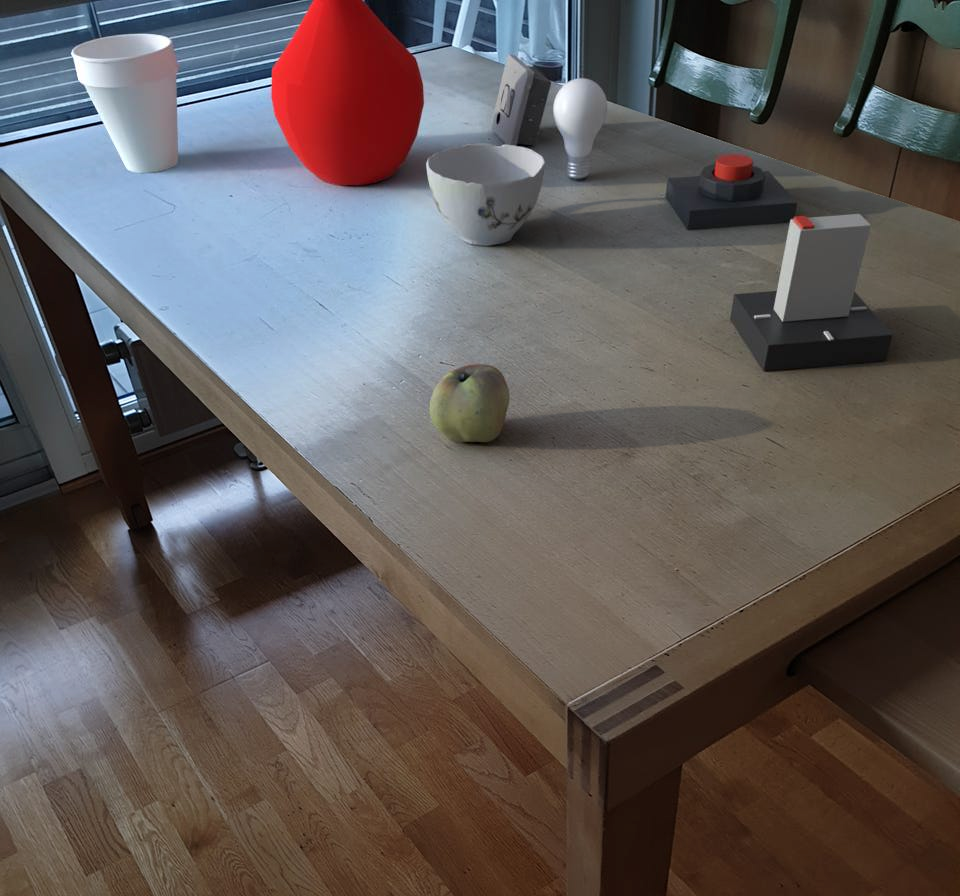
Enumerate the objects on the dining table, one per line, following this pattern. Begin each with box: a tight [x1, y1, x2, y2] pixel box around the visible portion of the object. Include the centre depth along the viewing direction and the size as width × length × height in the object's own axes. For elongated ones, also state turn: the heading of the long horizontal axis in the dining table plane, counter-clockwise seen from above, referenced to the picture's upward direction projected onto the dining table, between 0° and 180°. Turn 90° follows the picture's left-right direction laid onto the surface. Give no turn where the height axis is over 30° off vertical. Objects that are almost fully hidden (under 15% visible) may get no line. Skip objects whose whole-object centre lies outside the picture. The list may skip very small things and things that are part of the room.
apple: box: [428, 363, 511, 443], centre depth 76 cm, size 6×8×6 cm
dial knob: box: [774, 213, 872, 322], centre depth 83 cm, size 6×2×8 cm, turn 96°
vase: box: [270, 0, 425, 186], centre depth 112 cm, size 18×18×30 cm
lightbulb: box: [552, 77, 608, 181], centre depth 114 cm, size 6×6×11 cm
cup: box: [70, 33, 180, 174], centre depth 123 cm, size 12×12×14 cm
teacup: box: [425, 143, 546, 247], centre depth 105 cm, size 15×12×8 cm
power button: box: [714, 153, 754, 181], centre depth 107 cm, size 4×4×2 cm
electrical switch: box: [491, 54, 552, 147], centre depth 127 cm, size 9×5×9 cm, turn 15°
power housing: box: [665, 163, 798, 232], centre depth 108 cm, size 12×10×4 cm
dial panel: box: [729, 290, 893, 372], centre depth 87 cm, size 11×10×3 cm
